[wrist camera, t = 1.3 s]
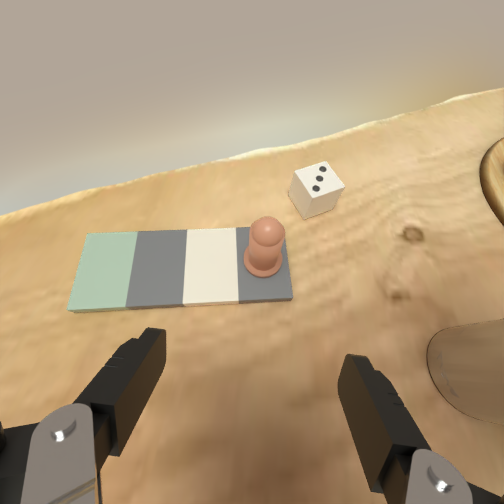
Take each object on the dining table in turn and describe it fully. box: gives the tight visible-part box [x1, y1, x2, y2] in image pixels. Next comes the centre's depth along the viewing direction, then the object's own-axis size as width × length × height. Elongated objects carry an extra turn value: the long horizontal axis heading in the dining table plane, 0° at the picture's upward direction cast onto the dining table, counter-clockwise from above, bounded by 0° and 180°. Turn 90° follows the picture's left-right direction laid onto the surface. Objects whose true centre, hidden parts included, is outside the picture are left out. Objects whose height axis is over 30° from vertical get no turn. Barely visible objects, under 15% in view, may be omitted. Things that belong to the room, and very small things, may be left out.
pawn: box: [244, 217, 285, 278], centre depth 26 cm, size 5×5×9 cm
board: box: [67, 227, 293, 313], centre depth 30 cm, size 26×10×2 cm, turn 94°
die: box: [288, 161, 345, 220], centre depth 34 cm, size 5×5×5 cm
